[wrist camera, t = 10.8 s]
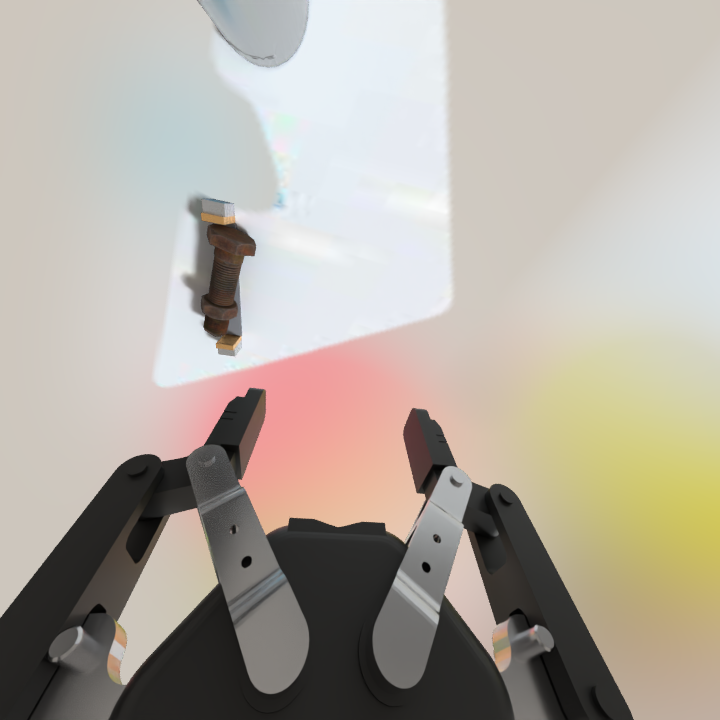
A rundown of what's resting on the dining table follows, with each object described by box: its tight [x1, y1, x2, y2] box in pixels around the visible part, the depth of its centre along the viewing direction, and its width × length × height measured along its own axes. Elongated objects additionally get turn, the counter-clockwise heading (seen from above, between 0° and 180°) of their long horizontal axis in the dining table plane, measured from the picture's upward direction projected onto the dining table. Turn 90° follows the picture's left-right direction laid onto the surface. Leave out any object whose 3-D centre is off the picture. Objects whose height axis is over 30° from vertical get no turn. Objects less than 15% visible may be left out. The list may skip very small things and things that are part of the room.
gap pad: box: [213, 223, 242, 336], centre depth 37 cm, size 17×3×1 cm, turn 169°
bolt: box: [201, 224, 256, 337], centre depth 35 cm, size 6×5×15 cm
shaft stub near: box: [201, 199, 235, 225], centre depth 31 cm, size 2×2×4 cm
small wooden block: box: [216, 334, 242, 356], centre depth 41 cm, size 2×2×4 cm
